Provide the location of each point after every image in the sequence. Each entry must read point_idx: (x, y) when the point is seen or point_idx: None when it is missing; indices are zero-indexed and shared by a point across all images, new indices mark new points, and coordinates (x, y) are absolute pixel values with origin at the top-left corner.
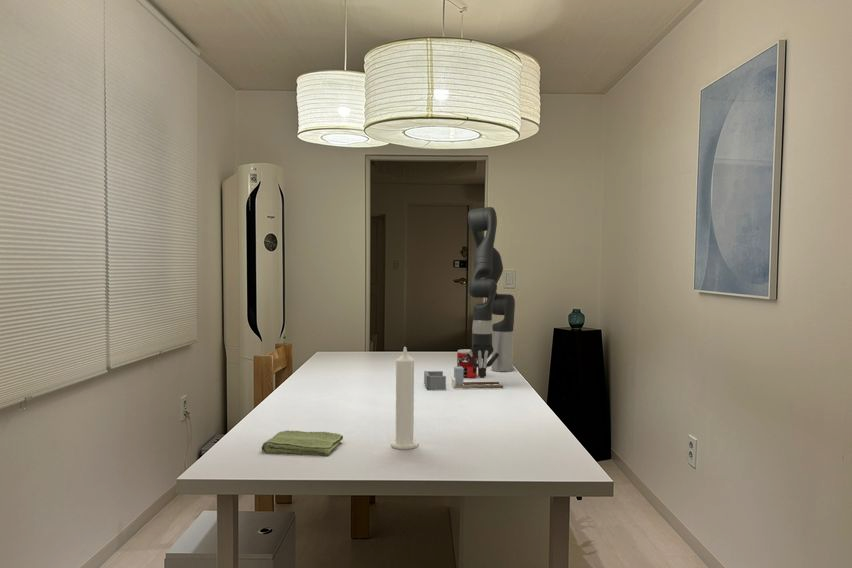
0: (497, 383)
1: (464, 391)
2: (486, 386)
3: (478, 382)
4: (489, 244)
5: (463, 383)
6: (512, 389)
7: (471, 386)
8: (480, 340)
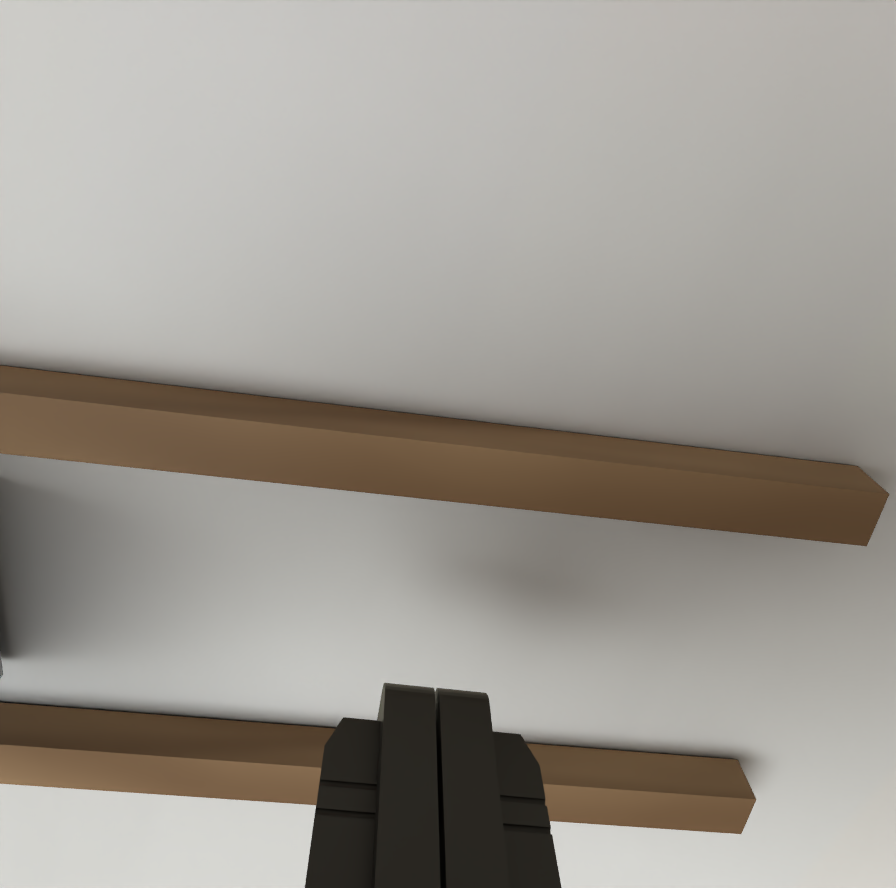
0: (817, 528)
1: (15, 873)
2: None
3: (390, 492)
4: None
5: (17, 442)
6: (842, 842)
7: (149, 788)
8: None
